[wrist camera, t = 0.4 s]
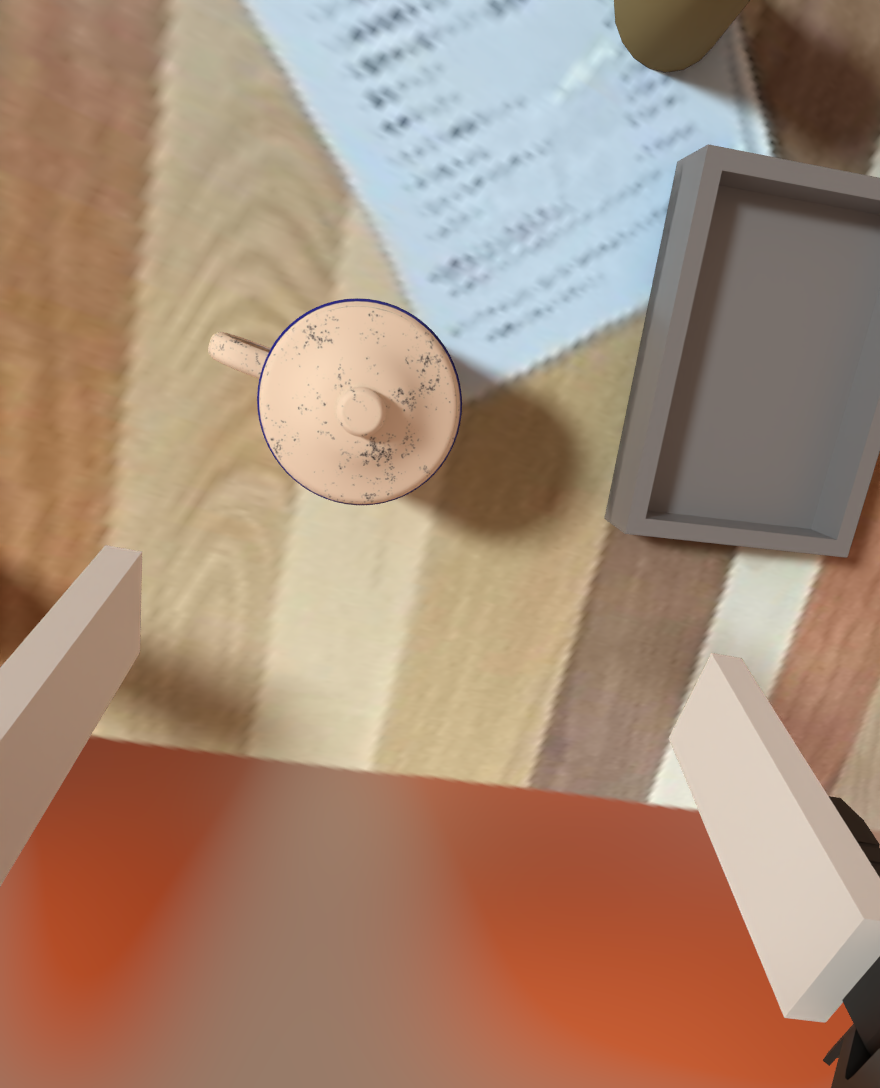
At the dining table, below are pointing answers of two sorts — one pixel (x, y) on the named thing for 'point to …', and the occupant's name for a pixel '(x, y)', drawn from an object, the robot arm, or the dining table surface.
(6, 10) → the dining table surface
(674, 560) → the dining table surface
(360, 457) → the teacup with lid
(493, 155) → the dining table surface
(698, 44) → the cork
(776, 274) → the tray
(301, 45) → the dining table surface
